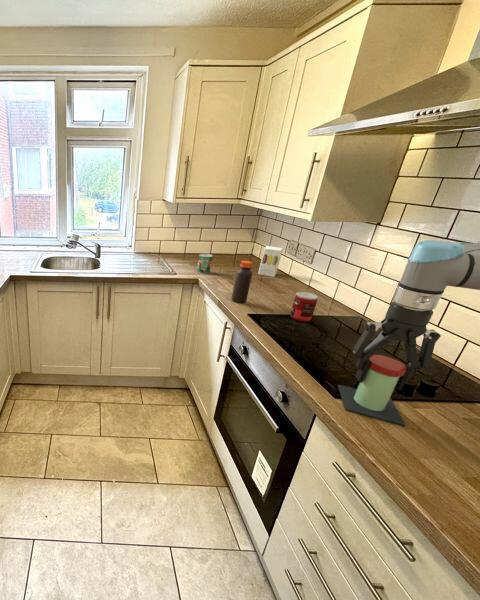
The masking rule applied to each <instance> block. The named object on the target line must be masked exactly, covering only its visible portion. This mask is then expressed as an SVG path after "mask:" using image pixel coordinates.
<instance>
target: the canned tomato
mask: <svg viewBox="0 0 480 600" xmlns="http://www.w3.org/2000/svg"><path fill="white" fill-rule="evenodd" d="M212 261H213V254H210V253H200V254H199V255H198V261H197V268H196V272H197V273H198V274H207V273H208V274H210V273H211V267H212ZM208 274H207V275H208Z"/></svg>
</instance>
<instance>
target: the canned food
mask: <svg viewBox="0 0 480 600" xmlns="http://www.w3.org/2000/svg"><path fill="white" fill-rule="evenodd" d="M318 300H319V296H318V295H317V294H315V293H311V292H307V291H297V292H296V293H295V297H294V300H293V303H292V307H291V310H290V314H289V315H290V318H292V319H293V320H295V321H299V322H303V323H305V322H307V323H308V322H311V320H312V318H313V315H314V312H315V309H316V306H317V303H318Z"/></svg>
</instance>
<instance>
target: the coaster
mask: <svg viewBox="0 0 480 600" xmlns="http://www.w3.org/2000/svg"><path fill="white" fill-rule="evenodd" d="M337 388H338V391H339V394H340V397H341V400H342V404H343V407H344V410H345V411H346V412H351V413H353V414H357V415H362V416H364V417H368V418H371V419H376V420H379V421H383V422H387V423H389V424H394V425H397V426H401V427H405V426H406V424H405V422H404V419H403V418H402V416H401V413H400V412H399V410H398V409H397V407H396V404H395V402H394V401H393V400H392V397H390V399H389V401H388V403H387V405H386V407H385V409H384V410H383V411H374V410H370V409H367V408H365V407H363V406H361V405H360V404H358V403H357V402H356V401H355V400H354V395H355V393H356V390H357V388H354V387H350V386H346V385H342V384H337Z"/></svg>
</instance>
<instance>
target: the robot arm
mask: <svg viewBox="0 0 480 600" xmlns="http://www.w3.org/2000/svg"><path fill="white" fill-rule="evenodd" d="M447 287H452V288H462V289H468V290H469V289H470V290H477V291H480V241H477V242H466V241H465V242H462V241H461V242H460V241H459V242H453V241H443V240H436V239H435V240H432V239H429V240H428V239H426V240H421V241H419V242H418V243H416V244H415V245H414V248H412V251H411V253H410V255H409V257H408V258H407V262H406V265H405V267H404V270H403V273H402V275H401V278H400V281H399V282H398V285H397V287H396V289H395V291H394V294H393V297H392V298H391V301H392V302H390V303H389V305H388V308H387V310H386V313H385V316H384V318H383V319H382V320H381V321H375V322H374V321H372V320H367V321H365V327H364V328H365V329H364V330H363V332H362V333H361V334H360V336H359V338H358V340H357V341H356V343H355V344H354V346H353V347H352V349H351V352H352V354H353V355H354V356H355V358H357V360H356V363H355V368H356V369H357V371H356V374H355V378H356V380H357V381H358V383H360V382H363V380H364V377H365V375H366V373H367V370H368V368H369V365H370V363H371V362H370V361H369V358H370V357H372V356H373V355H376V353H377V352H379V351H380V350H381V349H382V348H383V347H384V346H386V345H387V344H390V342H392V341H400V342H402V343H403V342H404V349H405V356H406V363H403V364H404V365H405V366H406V367H407V370H406V372H405V374H404V376H401V377H400V378H399V380H398V382H397V384H396V386H395V389H396V390H398V391H402V390H403V389H404V386H405V384H406V383H407V381H408V380H412V378H413V377H414V375H415V372H419V371H420V370H421V369H423V370H427V369H429V368H430V365H431V361H432V357H433V354H434V349H435V346H436V343H437V341H439V340H440V338H441V337H442V335H441V334H440V333H439V332H438V331H437V330H435V329H428V328H427V326H428V325H429V323H430V322H431V319H432V317H433V315H434V310H436V308H437V306H438V304H439V302H440V300H441V298H442V295H443V294H444V292H445V290H446V288H447ZM380 328H381V330H382V331H380V332H379V333H378V335H377V337H376V338H374V340H372V339H373V337H374V336H375V335H376V332H378V331H379V329H380ZM421 336H423V338H422V342H421V345H420V349H419V353H417V345H418V344H417V338H419V337H421Z"/></svg>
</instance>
